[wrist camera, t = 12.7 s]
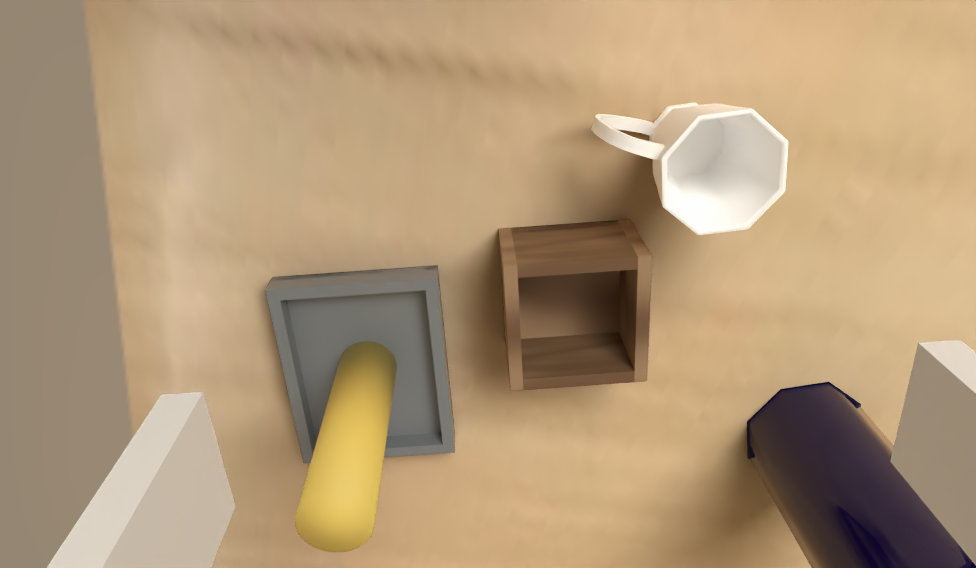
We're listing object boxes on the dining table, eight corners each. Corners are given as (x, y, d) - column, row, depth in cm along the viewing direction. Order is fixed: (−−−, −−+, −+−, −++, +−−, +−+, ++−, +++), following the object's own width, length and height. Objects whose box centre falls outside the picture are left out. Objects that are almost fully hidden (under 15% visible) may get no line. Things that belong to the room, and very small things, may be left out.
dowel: (335, 343, 49) (288, 496, 36) (393, 339, 49) (368, 490, 36) (344, 391, 51) (302, 555, 37) (399, 387, 51) (378, 549, 37)
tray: (272, 277, 47) (265, 290, 46) (437, 265, 47) (436, 278, 46) (308, 445, 54) (303, 463, 52) (455, 435, 54) (454, 452, 52)
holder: (498, 228, 46) (503, 266, 41) (630, 219, 47) (652, 255, 41) (505, 342, 50) (510, 390, 45) (627, 334, 50) (647, 381, 45)
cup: (711, 202, 46) (757, 251, 39) (565, 164, 45) (585, 206, 38) (756, 96, 43) (816, 127, 36) (602, 51, 42) (631, 74, 35)
